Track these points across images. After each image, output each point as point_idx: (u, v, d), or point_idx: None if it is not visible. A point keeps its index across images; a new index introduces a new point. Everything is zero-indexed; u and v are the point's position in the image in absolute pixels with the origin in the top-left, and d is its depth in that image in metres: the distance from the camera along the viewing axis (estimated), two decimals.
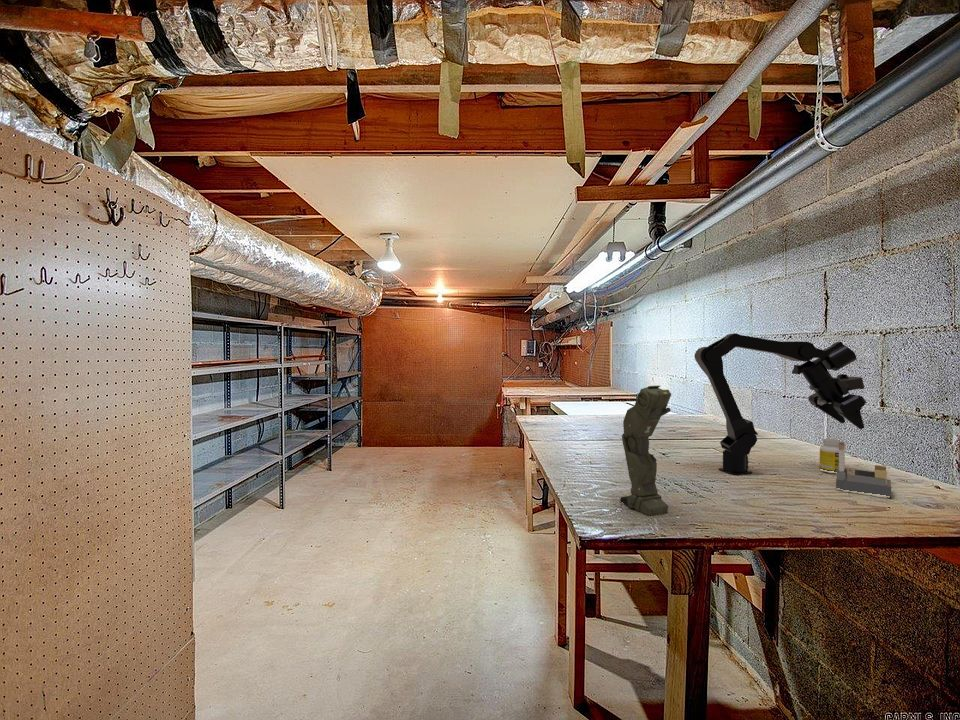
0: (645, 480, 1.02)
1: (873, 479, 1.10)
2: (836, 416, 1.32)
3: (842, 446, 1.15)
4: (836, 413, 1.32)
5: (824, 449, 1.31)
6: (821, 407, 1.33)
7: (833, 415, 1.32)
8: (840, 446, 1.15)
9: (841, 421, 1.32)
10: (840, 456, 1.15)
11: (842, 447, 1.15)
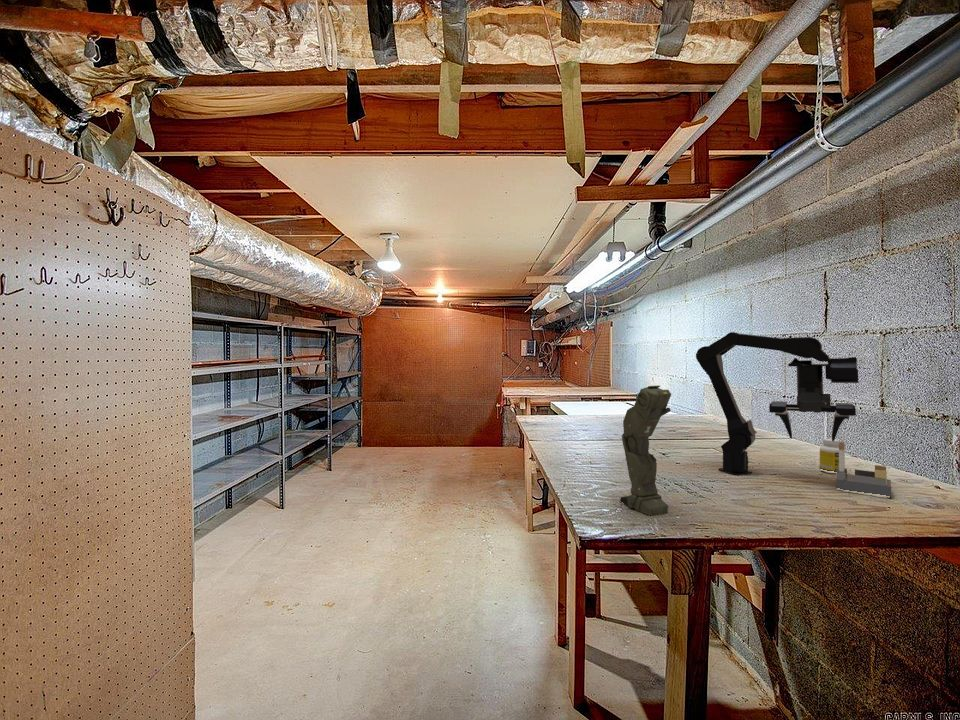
0: (645, 480, 1.02)
1: (873, 479, 1.10)
2: (832, 431, 1.19)
3: (842, 446, 1.15)
4: None
5: (824, 449, 1.31)
6: (834, 415, 1.20)
7: None
8: (840, 446, 1.15)
9: None
10: (840, 456, 1.15)
11: (842, 447, 1.15)
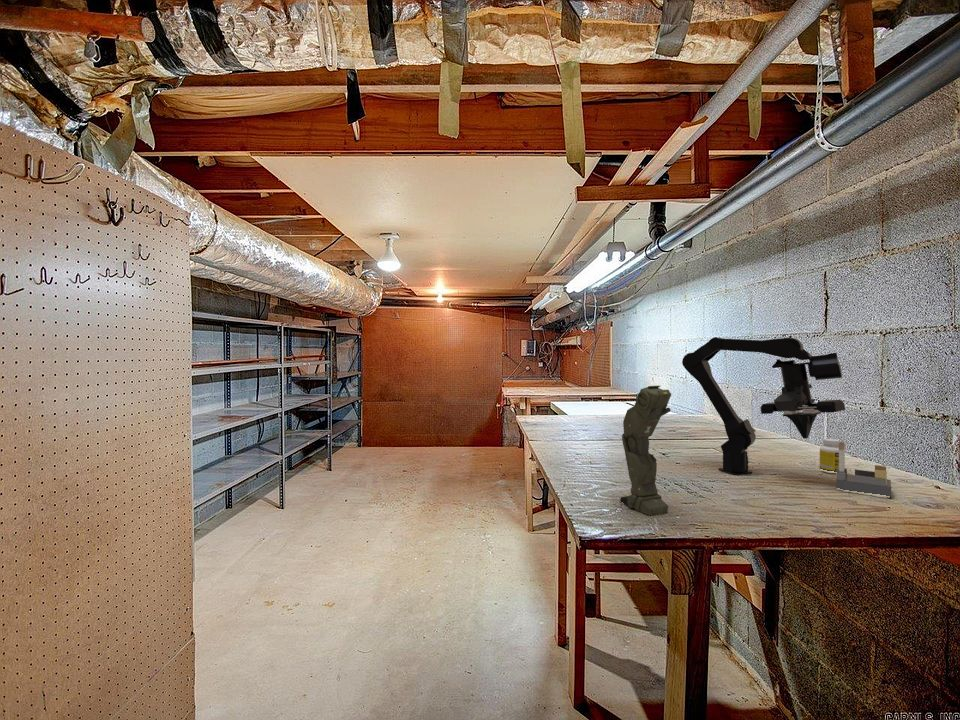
0: (645, 480, 1.02)
1: (873, 479, 1.10)
2: None
3: (842, 446, 1.15)
4: None
5: (824, 449, 1.31)
6: None
7: None
8: (840, 446, 1.15)
9: None
10: (840, 456, 1.15)
11: (842, 447, 1.15)
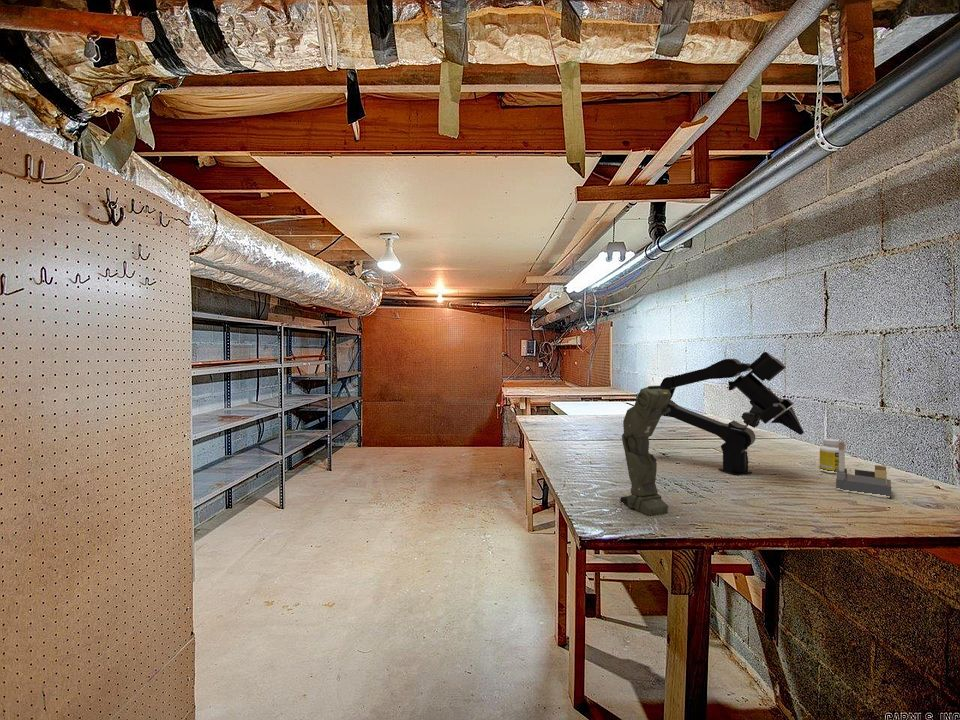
0: (645, 480, 1.02)
1: (873, 479, 1.10)
2: None
3: (842, 446, 1.15)
4: None
5: (824, 449, 1.31)
6: None
7: None
8: (840, 446, 1.15)
9: None
10: (840, 456, 1.15)
11: (842, 447, 1.15)
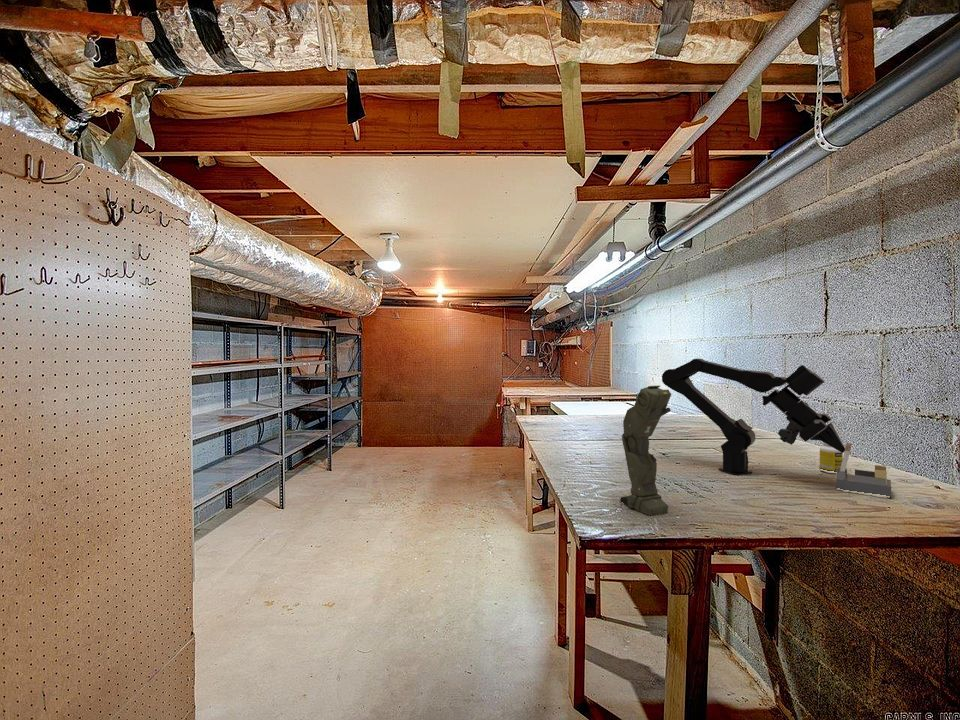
0: (645, 480, 1.02)
1: (873, 479, 1.10)
2: None
3: (849, 447, 1.14)
4: None
5: (824, 449, 1.31)
6: None
7: None
8: (847, 447, 1.14)
9: None
10: (844, 457, 1.15)
11: (849, 448, 1.14)
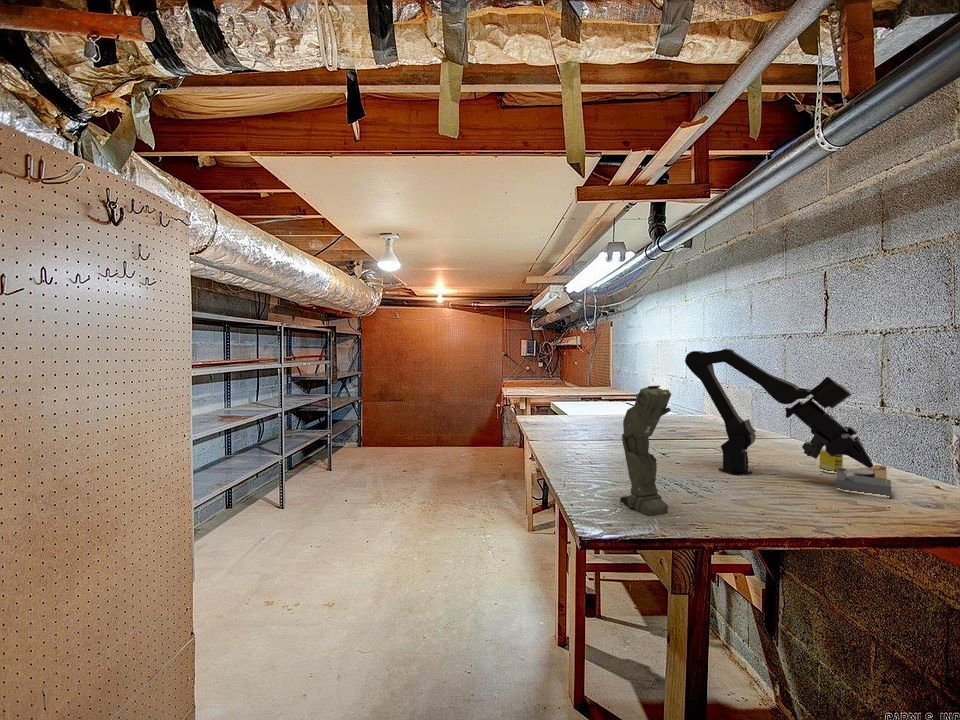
0: (645, 480, 1.02)
1: (873, 479, 1.10)
2: None
3: None
4: None
5: (824, 449, 1.31)
6: None
7: None
8: None
9: None
10: (864, 471, 1.12)
11: None
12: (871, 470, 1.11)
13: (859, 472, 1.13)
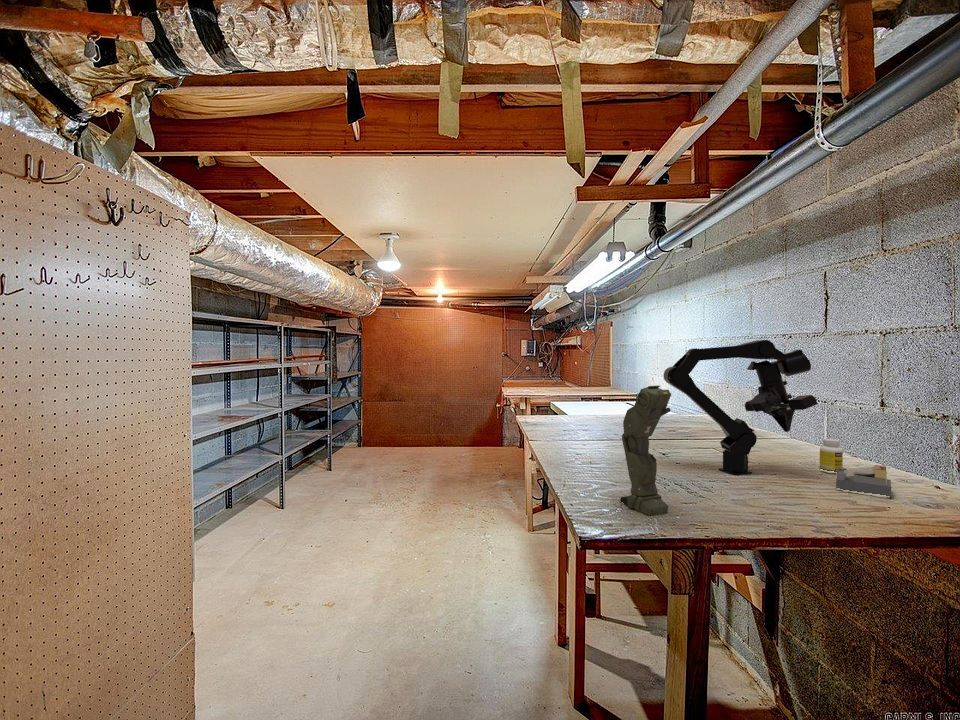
0: (645, 480, 1.02)
1: (873, 479, 1.10)
2: None
3: None
4: None
5: (824, 449, 1.31)
6: None
7: None
8: None
9: None
10: (864, 471, 1.12)
11: None
12: (871, 470, 1.11)
13: (859, 472, 1.13)
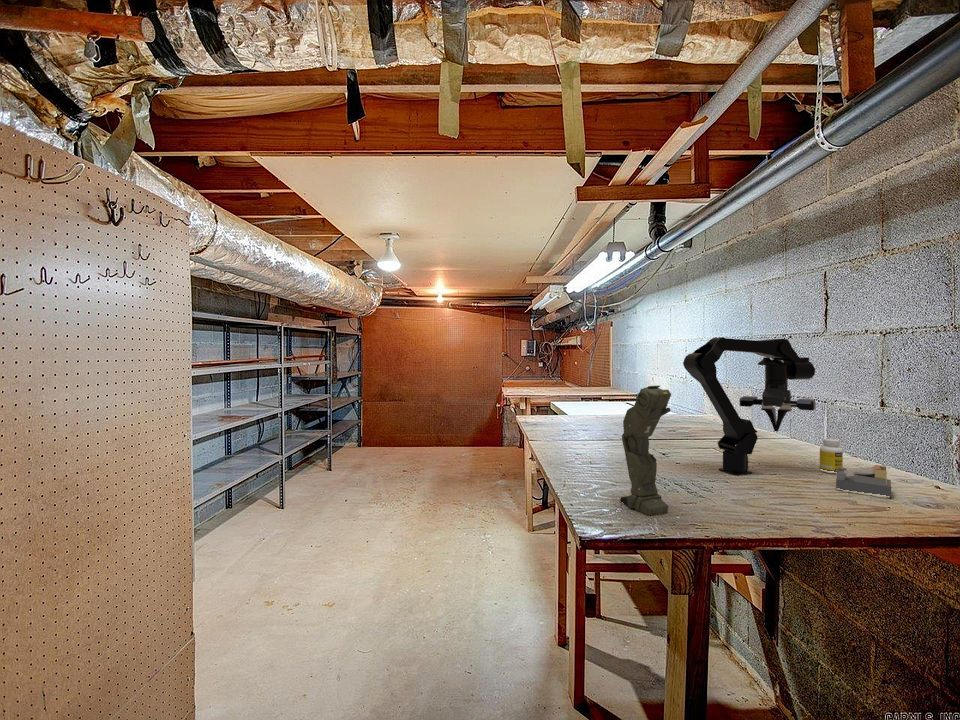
0: (645, 480, 1.02)
1: (873, 479, 1.10)
2: (777, 422, 1.35)
3: None
4: (777, 420, 1.34)
5: (824, 449, 1.31)
6: None
7: None
8: None
9: None
10: (864, 471, 1.12)
11: None
12: (871, 470, 1.11)
13: (859, 472, 1.13)
